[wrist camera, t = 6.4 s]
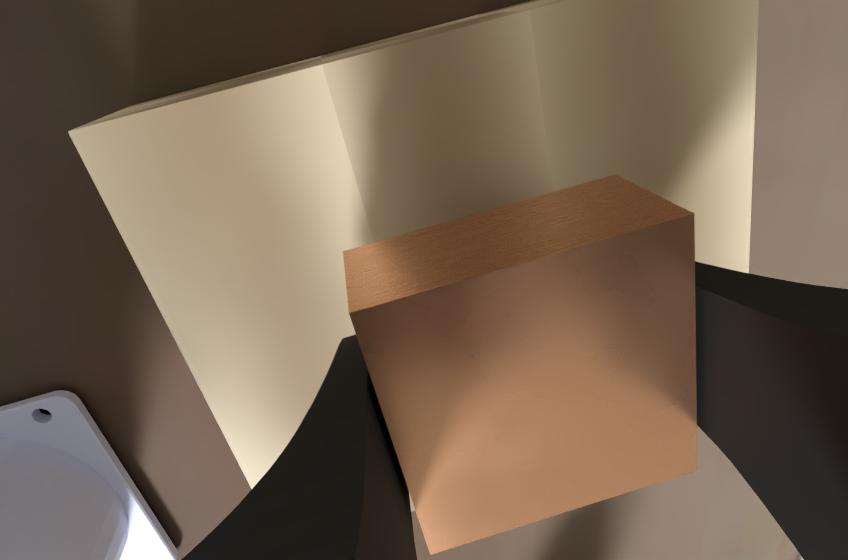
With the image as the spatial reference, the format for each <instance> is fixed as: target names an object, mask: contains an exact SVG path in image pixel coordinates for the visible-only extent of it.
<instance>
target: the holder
mask: <svg viewBox="0 0 848 560" xmlns="http://www.w3.org/2000/svg"><path fill="white" fill-rule="evenodd" d="M758 10H759V0H532V1H528V2H524V3H520V4H516V5H513V6H509V7H505V8H501V9H497V10H494V11H490V12H486V13H482V14H478V15H474V16H471V17H467V18H463V19H459V20H455V21H452V22H448V23H444V24H440V25H436V26H432V27H429V28H425V29H421V30H417V31H413V32H409V33H406V34H402V35H398V36H394V37H390V38H387V39H383V40H379V41H375V42H371V43H367V44H364V45H360V46H356V47H352V48H348V49H345V50H341V51H337V52H333V53H329V54H325V55H322V56H318V57H314V58H310V59H306V60H303V61H299V62H295V63H291V64H287V65H283V66H280V67H276V68H272V69H268V70H264V71H261V72H257V73H253V74H249V75H245V76H241V77H238V78H234V79H230V80H226V81H222V82H219V83H215V84H211V85H207V86H203V87H199V88H196V89H192V90H188V91H184V92H180V93H177V94H173V95H169V96H165V97H161V98H157V99H154V100H150V101H146V102H142V103H138V104H135V105H131V106H129V107H126V108H124V109H122V110H119V111H117V112H114V113H112V114H109V115H107V116H104V117H102V118H99V119H97V120H94V121H92V122H90V123H87V124H85V125H82V126H80V127H77V128H75V129H72V130H70V131H68V133H69V135H70V137H71V139H72V141H73V143H74V145H75V147H76V149H77V151H78V152H79V154H80V156H81V158H82V160H83V162H84V164H85V166H86V168H87V170H88V172H89V174H90V176H91V178H92V180H93V182H94V184H95V186H96V187H97V189H98V191H99V193H100V195H101V197H102V199H103V201H104V203H105V205H106V207H107V209H108V211H109V213H110V215H111V217H112V219H113V220H114V222H115V224H116V226H117V228H118V230H119V232H120V234H121V236H122V238H123V240H124V242H125V244H126V246H127V248H128V250H129V252H130V254H131V255H132V257H133V259H134V261H135V263H136V265H137V267H138V269H139V271H140V273H141V275H142V277H143V279H144V281H145V283H146V285H147V287H148V288H149V290H150V292H151V294H152V296H153V298H154V300H155V302H156V304H157V306H158V308H159V310H160V312H161V314H162V316H163V318H164V320H165V322H166V323H167V325H168V327H169V329H170V331H171V333H172V335H173V337H174V339H175V341H176V343H177V345H178V347H179V349H180V351H181V353H182V355H183V356H184V358H185V360H186V362H187V364H188V366H189V368H190V370H191V372H192V374H193V376H194V378H195V380H196V382H197V384H198V386H199V388H200V390H201V391H202V393H203V395H204V397H205V399H206V401H207V403H208V405H209V407H210V409H211V411H212V413H213V415H214V417H215V419H216V421H217V423H218V424H219V426H220V428H221V430H222V432H223V434H224V436H225V438H226V440H227V442H228V444H229V446H230V448H231V450H232V452H233V454H234V456H235V458H236V459H237V461H238V463H239V465H240V467H241V469H242V471H243V473H244V475H245V477H246V479H247V481H248V483H249V485H250V487H251V489H253V487H254V486H255V485H256V484H257V483H258V482H259V481H260V479H261V478H262V477H263V476H264V475H265V474H266V472H267V471H268V470H269V469H270V468H271V466H272V465H273V464H274V462H275V461H276V460H277V458H278V457H279V456H280V454H281V453H282V452H283V450H284V449H285V447H286V446H287V445H288V443H289V442H290V440H291V439H292V437H293V436H294V434H295V432H296V431H297V429H298V427H299V426H300V424H301V422H302V420H303V419H304V417H305V415H306V413H307V412H308V410H309V408H310V407H311V405H312V403H313V401H314V399H315V397H316V395H317V393H318V391H319V389H320V387H321V385H322V383H323V381H324V379H325V377H326V374H327V372H328V370H329V368H330V365H331V363H332V361H333V358H334V356H335V353H336V351H337V348H338V346H339V343H340V342H341V340H342V339H343V338H345V337H349V336H352V335H356V333H355V330H354V327H353V324H352V321H351V318H350V315H349V309H348V299H347V289H346V279H345V269H344V259H343V251H346V250H349V249H353V248H356V247H360V246H363V245H367V244H370V243H374V242H377V241H381V240H385V239H388V238H392V237H395V236H399V235H402V234H406V233H409V232H413V231H416V230H420V229H424V228H427V227H431V226H434V225H438V224H441V223H445V222H448V221H452V220H455V219H459V218H462V217H466V216H470V215H473V214H477V213H480V212H484V211H487V210H491V209H494V208H498V207H501V206H505V205H509V204H512V203H516V202H519V201H523V200H526V199H530V198H533V197H537V196H540V195H544V194H547V193H551V192H555V191H558V190H562V189H565V188H569V187H572V186H576V185H579V184H583V183H586V182H590V181H594V180H597V179H601V178H604V177H608V176H611V175H617V176H619V177H621V178H623V179H625V180H628V181H630V182H632V183H634V184H636V185H638V186H640V187H642V188H644V189H646V190H648V191H650V192H652V193H654V194H656V195H658V196H660V197H662V198H664V199H666V200H668V201H670V202H672V203H674V204H676V205H678V206H680V207H682V208H684V209H686V210H688V211H690V212H693V213H694V223H695V261H696V262H700V263H705V264H709V265H713V266H717V267H722V268H726V269H730V270H735V271H739V272H744V273H749V251H750V224H751V197H752V171H753V144H754V117H755V90H756V63H757V37H758ZM409 497H410V506H411V512H412V511H415V507H414V504H413V501H412V498H411V496H410V493H409Z"/></svg>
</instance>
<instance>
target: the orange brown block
mask: <svg viewBox="0 0 848 560" xmlns="http://www.w3.org/2000/svg"><path fill="white" fill-rule="evenodd" d="M343 259H344V269H345V279H346V289H347V299H348V309H349V315H350V318H351V321H352V324H353V327H354V330H355V333H356V336H357V339H358V342H359V345H360V348H361V351H362V353H363V356H364V359H365V362H366V365H367V368H368V371H369V374H370V377H371V380H372V383H373V386H374V389H375V392H376V395H377V398H378V401H379V404H380V407H381V410H382V413H383V416H384V419H385V422H386V424H387V427H388V430H389V433H390V436H391V439H392V442H393V445H394V448H395V451H396V454H397V457H398V460H399V463H400V466H401V469H402V472H403V475H404V478H405V481H406V484H407V487H408V490H409V493H410V496H411V498H412V501H413V504H414V507H415V510H416V513H417V516H418V519H419V522H420V525H421V528H422V531H423V534H424V537H425V540H426V543H427V546H428V549H429V552H430V555H431V554H435V553H438V552H441V551H444V550H447V549H450V548H454V547H457V546H460V545H463V544H466V543H469V542H473V541H476V540H479V539H482V538H485V537H488V536H492V535H495V534H498V533H501V532H504V531H507V530H510V529H514V528H517V527H520V526H523V525H526V524H529V523H533V522H536V521H539V520H542V519H545V518H548V517H552V516H555V515H558V514H561V513H564V512H567V511H571V510H574V509H577V508H580V507H583V506H586V505H590V504H593V503H596V502H599V501H602V500H605V499H609V498H612V497H615V496H618V495H621V494H624V493H628V492H631V491H634V490H637V489H640V488H643V487H647V486H650V485H653V484H656V483H659V482H662V481H665V480H669V479H672V478H675V477H678V476H681V475H684V474H688V473H691V472H694V471H697V391H696V307H695V223H694V213H693V212H690V211H688V210H686V209H684V208H682V207H680V206H678V205H676V204H674V203H672V202H670V201H668V200H666V199H664V198H662V197H660V196H658V195H656V194H654V193H652V192H650V191H648V190H646V189H644V188H642V187H640V186H638V185H636V184H634V183H632V182H630V181H628V180H625V179H623V178H621V177H619V176H617V175H611V176H608V177H604V178H601V179H597V180H594V181H590V182H586V183H583V184H579V185H576V186H572V187H569V188H565V189H562V190H558V191H555V192H551V193H547V194H544V195H540V196H537V197H533V198H530V199H526V200H523V201H519V202H516V203H512V204H509V205H505V206H501V207H498V208H494V209H491V210H487V211H484V212H480V213H477V214H473V215H470V216H466V217H462V218H459V219H455V220H452V221H448V222H445V223H441V224H438V225H434V226H431V227H427V228H424V229H420V230H416V231H413V232H409V233H406V234H402V235H399V236H395V237H392V238H388V239H385V240H381V241H377V242H374V243H370V244H367V245H363V246H360V247H356V248H353V249H349V250H346V251H343Z"/></svg>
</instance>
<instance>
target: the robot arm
mask: <svg viewBox="0 0 848 560" xmlns="http://www.w3.org/2000/svg"><path fill="white" fill-rule="evenodd" d="M695 307H696V391H697V425H698V426H699V427H700V428H701V429H702V430H703V432H704V433H705V434H706V435H707V436H708V437H709V438H710V439H711V440H712V441H713V442H714V443H715V444H716V445H717V446H718V447H719V449H720V450H721V451H722V452H723V453H724V454H725V455H726V456H727V458H728V459H729V460H730V461H731V462H732V463H733V465H734V466H735V467H736V469H737V470H738V471H739V472H740V474H741V475H742V476H743V478H744V479H745V480H746V481H747V483H748V484H749V485H750V487H751V488H752V489H753V491H754V492H755V493H756V494H757V496H758V497H759V498H760V500H761V501H762V502H763V504H764V505H765V506H766V508H767V509H768V510H769V512H770V513H771V514H772V516H773V517H774V519H775V520H776V521H777V523H778V524H779V525H780V527H781V528H782V529H783V531H784V532H785V534H786V535H787V536H788V538H789V539H790V540H791V542H792V543H793V545H794V546H795V547H796V549H797V550H798V552H799V553H800V554H801V556H802V557H803V559H804V560H848V289H841V288H833V287H825V286H816V285H810V284H803V283H796V282H791V281H785V280H780V279H774V278H769V277H764V276H758V275H754V274H749V273H744V272H739V271H735V270H730V269H726V268H722V267H717V266H713V265H709V264H705V263H700V262H696V261H695ZM39 409H45V410H48V411H49V412H50V413H51V415H46V414H43V413H41V412H40V411H39ZM178 555H179V554H178V551H177V549H176V548H175V546H174V544H173V543H172V541H171V540H170V538H169V537H168V535H167V534H166V532H165V530H164V529H163V527H162V526H161V524H160V523H159V521H158V520H157V518H156V516H155V515H154V513H153V512H152V510H151V509H150V507H149V506H148V504H147V502H146V501H145V499H144V498H143V496H142V495H141V493H140V492H139V490H138V488H137V487H136V485H135V484H134V482H133V481H132V479H131V478H130V476H129V475H128V473H127V471H126V470H125V468H124V467H123V465H122V464H121V462H120V461H119V459H118V457H117V456H116V454H115V453H114V451H113V450H112V448H111V447H110V445H109V443H108V442H107V440H106V439H105V437H104V436H103V434H102V433H101V431H100V429H99V428H98V426H97V425H96V423H95V422H94V420H93V419H92V417H91V415H90V414H89V412H88V411H87V409H86V408H85V406H84V405H83V403H82V401H81V400H80V399H79V398H78V397H77V395H76V394H74V393H72V392H70V391H64V390H58V391H53V392H49V393H46V394H43V395H39V396H36V397H32V398H29V399H25V400H22V401H18V402H15V403H11V404H8V405H4V406H1V407H0V560H177V559H178ZM181 560H417V556H416V550H415V543H414V535H413V525H412V516H411V506H410V497H409V490H408V487H407V484H406V481H405V478H404V475H403V472H402V469H401V466H400V463H399V460H398V457H397V454H396V451H395V448H394V445H393V442H392V439H391V436H390V433H389V430H388V427H387V424H386V422H385V419H384V416H383V413H382V410H381V407H380V404H379V401H378V398H377V395H376V392H375V389H374V386H373V383H372V380H371V377H370V374H369V371H368V368H367V365H366V362H365V359H364V356H363V353H362V351H361V348H360V345H359V342H358V339H357V336H356V335H352V336H349V337H345V338H343V339H342V340H341V342H340V343H339V346H338V348H337V351H336V353H335V356H334V358H333V361H332V363H331V365H330V368H329V370H328V372H327V374H326V377H325V379H324V381H323V383H322V385H321V387H320V389H319V391H318V393H317V395H316V397H315V399H314V401H313V403H312V405H311V407H310V408H309V410H308V412H307V413H306V415H305V417H304V419H303V420H302V422H301V424H300V426H299V427H298V429H297V431H296V432H295V434H294V436H293V437H292V439H291V440H290V442H289V443H288V445H287V446H286V447H285V449H284V450H283V452H282V453H281V454H280V456H279V457H278V458H277V460H276V461H275V462H274V464H273V465H272V466H271V468H270V469H269V470H268V471H267V472H266V474H265V475H264V476H263V477H262V478H261V479H260V481H259V482H258V483H257V484H256V485H255V486H254V487H253V489H252V490H251V491H250V492H249V493H248V494H247V496H246V497H245V498H244V499H243V500H242V501H241V503H240V504H239V505H238V506H237V507H236V508H235V509H234V510H233V511H232V512H231V513H230V514H229V515H228V516H227V517H226V518H225V519H224V520H223V521H222V522H221V523H220V524H219V525H218V526H217V527H216V528H215V529H214V530H213V531H212V532H211V533H210V534H209V535H208V536H207V537H206V538H205V539H204V540H203V541H201V542H200V543H199V544H198V545H197V546H196V547H195V548H194V549H193V550H192V551H191V552H189V553H188V554H187V555H186V556H185V557H184V558H183V559H181Z"/></svg>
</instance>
